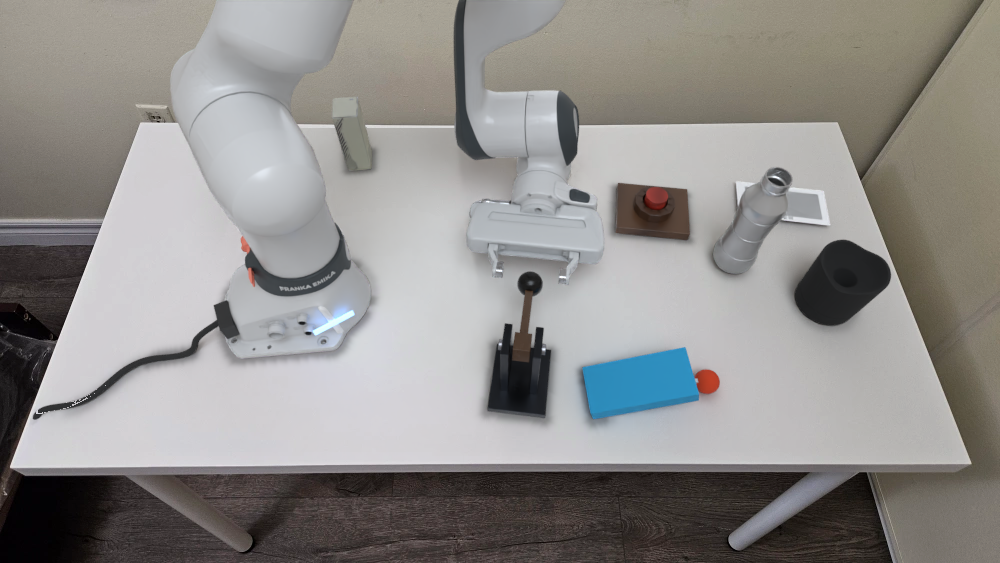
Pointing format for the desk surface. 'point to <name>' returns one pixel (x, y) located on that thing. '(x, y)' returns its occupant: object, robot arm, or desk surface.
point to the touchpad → (799, 204)
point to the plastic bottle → (753, 221)
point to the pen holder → (841, 282)
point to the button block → (651, 213)
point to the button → (656, 198)
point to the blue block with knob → (645, 383)
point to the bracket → (520, 378)
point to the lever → (526, 315)
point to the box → (352, 133)
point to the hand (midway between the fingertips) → (530, 278)
